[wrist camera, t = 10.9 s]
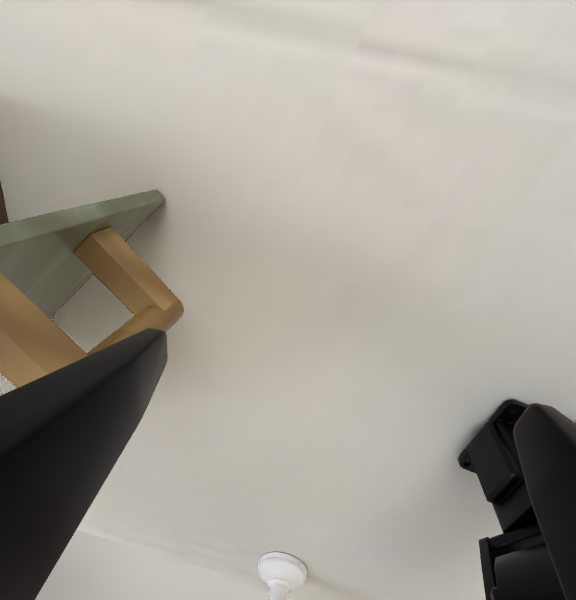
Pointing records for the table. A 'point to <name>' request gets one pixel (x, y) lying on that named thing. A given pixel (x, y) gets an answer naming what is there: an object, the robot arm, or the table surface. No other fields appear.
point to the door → (74, 281)
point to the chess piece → (281, 573)
